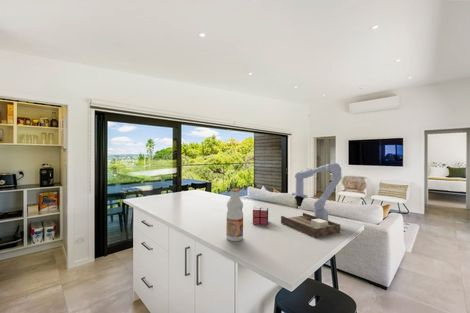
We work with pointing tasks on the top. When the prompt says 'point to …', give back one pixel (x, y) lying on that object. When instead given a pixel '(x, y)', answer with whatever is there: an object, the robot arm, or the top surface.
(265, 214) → the puzzle cube
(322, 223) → the cream block
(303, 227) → the trap box
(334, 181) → the robot arm
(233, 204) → the fruit juice
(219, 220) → the top surface
